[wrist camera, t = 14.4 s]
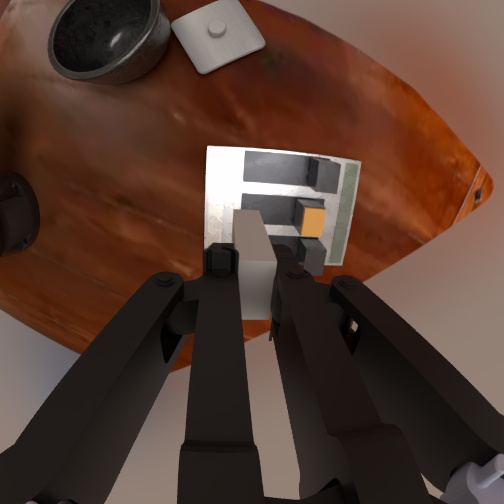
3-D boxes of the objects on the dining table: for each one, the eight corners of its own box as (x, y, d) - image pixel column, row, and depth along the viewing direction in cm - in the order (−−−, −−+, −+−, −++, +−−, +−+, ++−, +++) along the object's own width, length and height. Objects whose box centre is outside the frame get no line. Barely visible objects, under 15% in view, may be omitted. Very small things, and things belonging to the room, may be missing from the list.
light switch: (265, 50, 31) (270, 39, 27) (202, 79, 33) (198, 72, 28) (233, 1, 27) (234, -13, 23) (171, 29, 29) (164, 18, 24)
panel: (205, 255, 44) (202, 275, 38) (208, 145, 37) (204, 148, 31) (337, 259, 46) (351, 278, 40) (355, 159, 39) (375, 166, 33)
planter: (102, 15, 25) (63, -13, 14) (187, 8, 27) (173, -33, 15) (85, 94, 31) (37, 88, 19) (171, 90, 33) (145, 75, 21)
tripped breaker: (293, 225, 40) (300, 236, 36) (296, 198, 39) (304, 207, 35) (312, 226, 41) (322, 237, 37) (316, 200, 39) (326, 209, 35)
